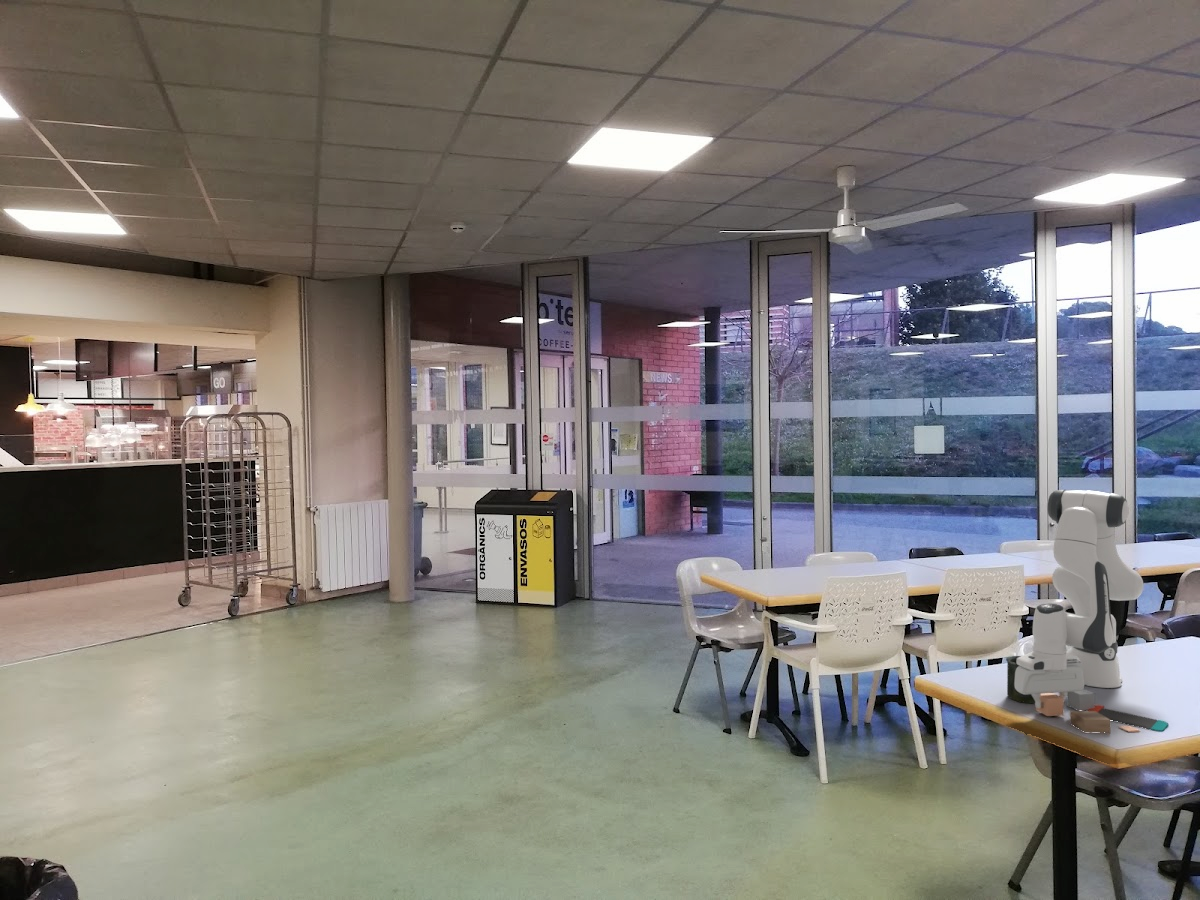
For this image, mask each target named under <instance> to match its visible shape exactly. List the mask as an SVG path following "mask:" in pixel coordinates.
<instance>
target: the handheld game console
mask: <svg viewBox="0 0 1200 900" xmlns="http://www.w3.org/2000/svg"><path fill="white" fill-rule="evenodd" d="M1087 711H1096V712H1098V713H1099V714H1101V715H1103V716H1105V717H1106V718H1108V719H1110V720H1113V721H1112V722H1114V721H1118V722H1122V723H1121V724H1123V723H1125V724H1124V725H1127V724H1129V725H1128V726H1131V725H1134V726H1133V727H1136V726H1139V727H1138V728H1140V727H1143V728H1142V729H1145V728H1146V730H1149V729H1151V730H1150V731H1155V732H1164V731H1165V730H1166V729H1167V728H1168V727H1169V723H1168V722H1167V721H1164V720H1162V719H1161V720H1159V719H1158V720H1157V719H1154V718H1150V717H1146V716H1140V715H1138V714H1137V715H1136V714H1132V713H1126V712H1123V711H1118V710H1115V709H1114V710H1113V709H1108V708H1105V706H1104V705H1101V704H1095V708H1091V709H1089V710H1087ZM1118 722H1117V723H1118Z"/></svg>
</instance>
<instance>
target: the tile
mask: <svg viewBox="0 0 1200 900" xmlns="http://www.w3.org/2000/svg"><path fill="white" fill-rule="evenodd" d="M1118 727H1119V728H1118ZM1118 727H1117V728H1118V729H1120V728H1121V729H1120V730H1122V729H1123V731H1124V730H1125V732H1126V731H1128V732H1127V733H1139V731H1140V732H1141V730H1140V729H1138V728H1136V727H1134V726H1131V725H1120V726H1118Z"/></svg>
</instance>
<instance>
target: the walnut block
mask: <svg viewBox="0 0 1200 900" xmlns="http://www.w3.org/2000/svg"><path fill="white" fill-rule="evenodd" d="M1069 713H1070V714H1069V715H1070V719H1069V721H1070V722H1069V723H1070V724H1069V725H1071V724H1072V725H1071V726H1073V725H1074V726H1075V727H1074V726H1073V727H1074V728H1076V727H1077V728H1079V729H1080V730H1082V731H1084V732H1100V733H1099V734H1111V721H1110V719H1108V718H1106V717H1105V716H1103V715H1101V714H1099V713H1098V712H1096V711H1078V710H1070V712H1069ZM1077 728H1076V729H1077ZM1079 729H1078V730H1079ZM1080 730H1079V731H1080ZM1082 731H1081V732H1082ZM1084 732H1083V733H1084ZM1104 732H1105V733H1104Z"/></svg>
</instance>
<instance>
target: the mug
mask: <svg viewBox="0 0 1200 900" xmlns="http://www.w3.org/2000/svg"><path fill="white" fill-rule="evenodd" d="M1021 656H1022V655H1014V656H1013V655H1012V656H1011V655H1010V656H1007V657H1006V658H1005V661H1006V664H1007V669H1006V670H1007V672H1006V673H1007V681H1006V682H1007V683H1006V684H1007V685H1006V686H1007V687H1006V688H1007V692H1006V693H1007V696H1008V699H1010V700H1013V701H1015V702H1020V703H1025V704H1035V700H1034V698H1033V697H1032V694H1027V695H1024V694H1021V693H1019V692H1018V691H1017V690H1016V689H1015V671H1016V669H1017V667H1018V666H1019V665H1018V664H1017V663H1016V660H1017V658H1018V657H1021Z"/></svg>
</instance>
